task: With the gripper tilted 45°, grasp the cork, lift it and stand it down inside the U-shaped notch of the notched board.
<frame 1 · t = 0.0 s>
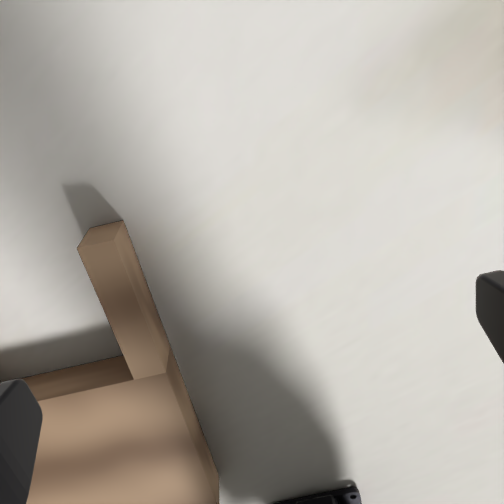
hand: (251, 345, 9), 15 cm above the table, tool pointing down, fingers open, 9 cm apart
notched board: (81, 389, 28), on the table
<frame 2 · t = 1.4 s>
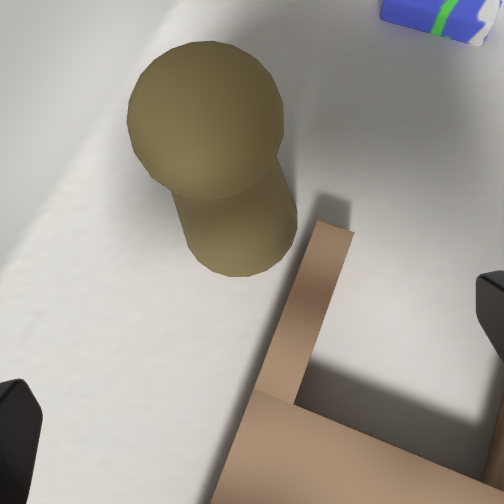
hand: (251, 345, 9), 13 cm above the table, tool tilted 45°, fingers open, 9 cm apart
eraser: (432, 27, 27), on the table
notched board: (372, 481, 20), on the table
cork: (240, 223, 24), on the table
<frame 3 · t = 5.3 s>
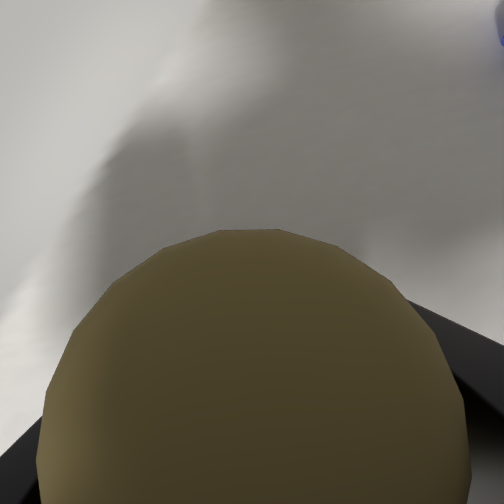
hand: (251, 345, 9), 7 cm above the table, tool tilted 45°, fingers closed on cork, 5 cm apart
cork: (281, 411, 15), on the table, touching gripper
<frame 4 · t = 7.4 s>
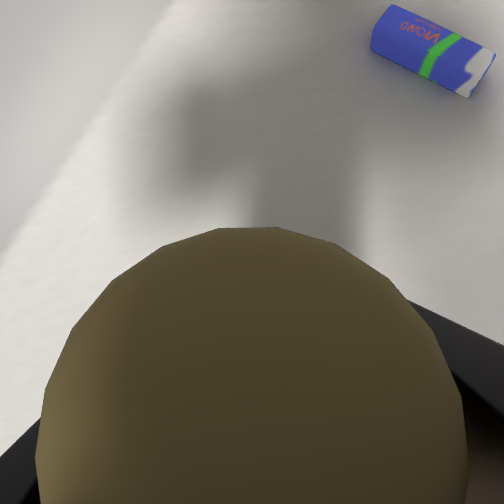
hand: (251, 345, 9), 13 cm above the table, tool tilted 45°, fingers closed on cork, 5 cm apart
eraser: (423, 67, 26), on the table
cork: (280, 409, 15), point 6 cm above the table, touching gripper
when the fingers open (7 cm above the table, at t = 10.0 s): cork stays where it is, on the table.
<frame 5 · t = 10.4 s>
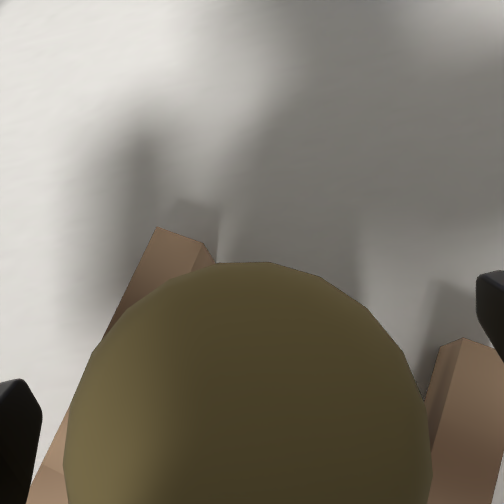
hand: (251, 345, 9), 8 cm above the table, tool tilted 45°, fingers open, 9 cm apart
cork: (278, 415, 16), on the table
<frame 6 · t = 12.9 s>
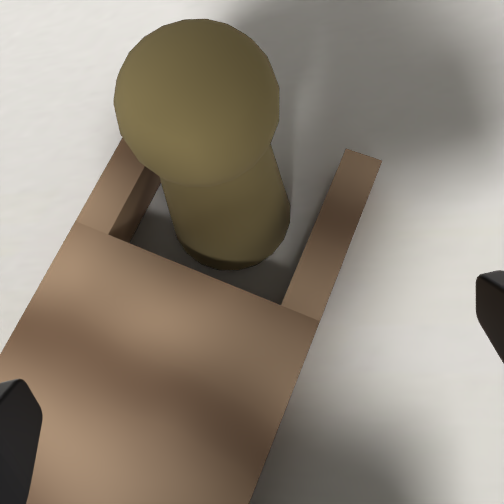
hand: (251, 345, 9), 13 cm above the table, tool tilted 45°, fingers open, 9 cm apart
notched board: (185, 314, 22), on the table
cork: (231, 214, 24), on the table
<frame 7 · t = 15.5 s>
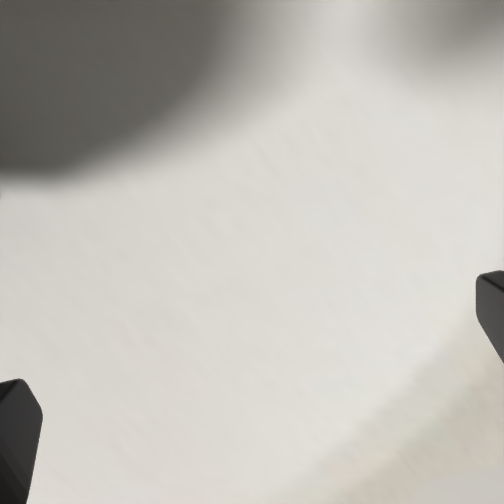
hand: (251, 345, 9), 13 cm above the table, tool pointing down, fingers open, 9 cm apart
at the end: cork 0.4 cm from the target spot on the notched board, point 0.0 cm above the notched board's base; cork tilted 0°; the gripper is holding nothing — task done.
